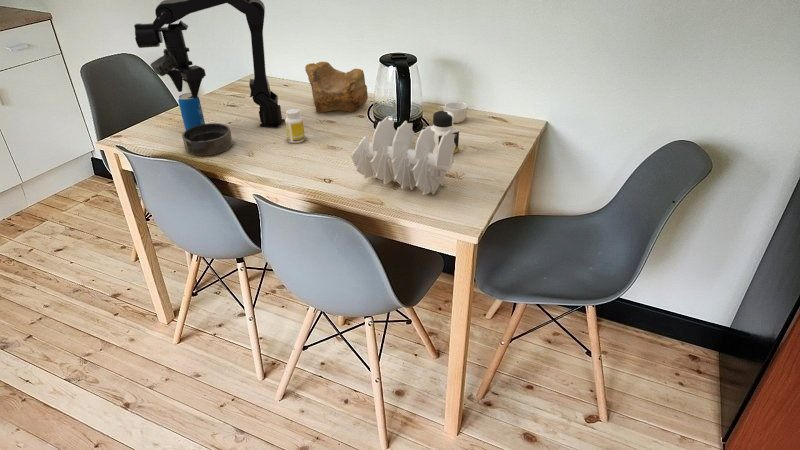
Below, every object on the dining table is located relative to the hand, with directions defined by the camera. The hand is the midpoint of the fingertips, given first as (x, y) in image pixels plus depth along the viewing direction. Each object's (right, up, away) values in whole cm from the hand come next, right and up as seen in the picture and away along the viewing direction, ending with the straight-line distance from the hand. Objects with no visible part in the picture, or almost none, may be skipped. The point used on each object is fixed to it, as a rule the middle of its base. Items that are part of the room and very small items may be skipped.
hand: (187, 94), depth 171 cm
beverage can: (0, -10, +7) cm, 13 cm away
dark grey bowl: (+9, -17, -4) cm, 20 cm away
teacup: (+86, -6, +11) cm, 87 cm away
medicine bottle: (+81, -19, -8) cm, 84 cm away
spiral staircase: (+70, -31, -26) cm, 81 cm away
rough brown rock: (+44, 0, +22) cm, 49 cm away
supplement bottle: (+35, -15, 0) cm, 38 cm away
